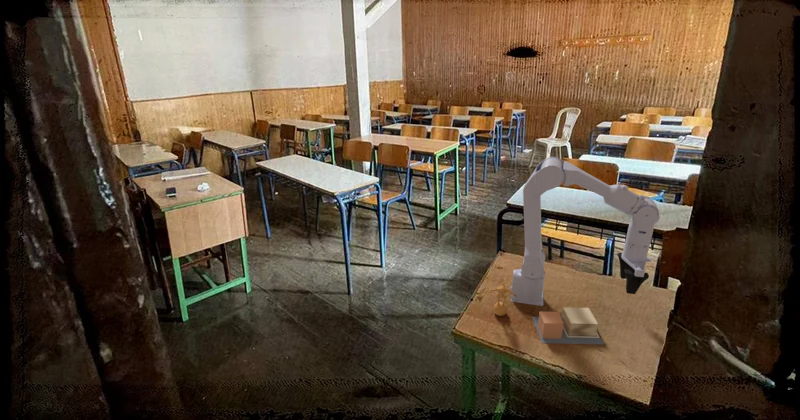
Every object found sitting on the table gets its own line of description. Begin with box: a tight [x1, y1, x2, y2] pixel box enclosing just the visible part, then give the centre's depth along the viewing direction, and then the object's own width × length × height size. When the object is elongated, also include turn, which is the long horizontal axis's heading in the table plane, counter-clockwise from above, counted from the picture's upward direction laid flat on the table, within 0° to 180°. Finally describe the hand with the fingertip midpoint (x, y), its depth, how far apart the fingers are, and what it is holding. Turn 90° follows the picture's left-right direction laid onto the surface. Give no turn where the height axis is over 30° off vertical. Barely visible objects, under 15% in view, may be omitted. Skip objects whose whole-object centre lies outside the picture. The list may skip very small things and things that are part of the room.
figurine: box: [486, 282, 517, 317], centre depth 118 cm, size 8×6×12 cm
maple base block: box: [561, 306, 599, 336], centre depth 114 cm, size 7×7×4 cm
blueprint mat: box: [532, 316, 605, 345], centre depth 114 cm, size 16×11×1 cm
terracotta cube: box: [538, 310, 564, 339], centre depth 112 cm, size 5×5×5 cm
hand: (627, 285), depth 116 cm, fingers open, 7 cm apart
